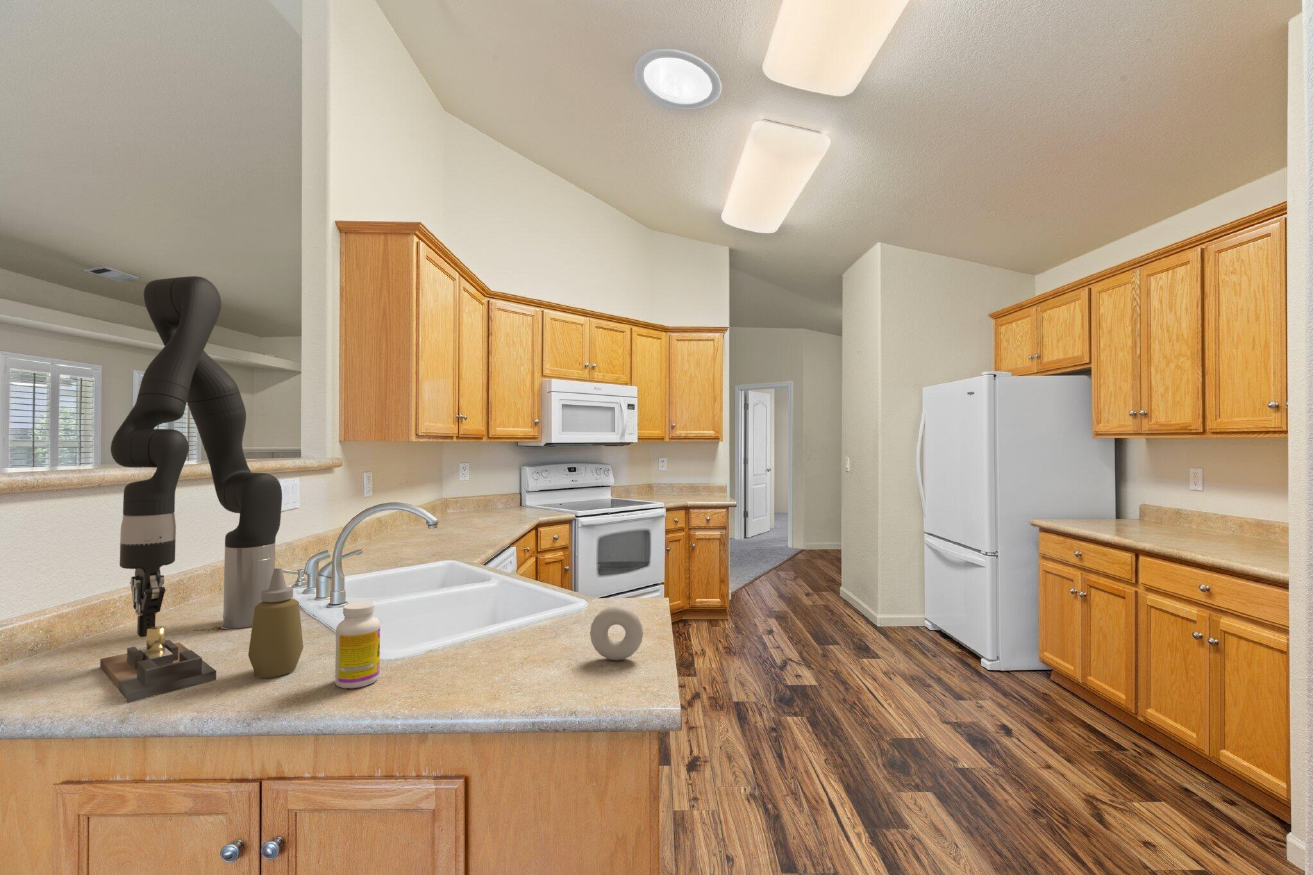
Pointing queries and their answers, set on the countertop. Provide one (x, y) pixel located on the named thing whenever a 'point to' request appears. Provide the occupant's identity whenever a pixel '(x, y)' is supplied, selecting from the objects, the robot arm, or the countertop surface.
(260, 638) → the squeeze bottle
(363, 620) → the supplement bottle
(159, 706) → the countertop surface
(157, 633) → the lock bolt
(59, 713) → the countertop surface
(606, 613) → the donut
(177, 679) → the door board
